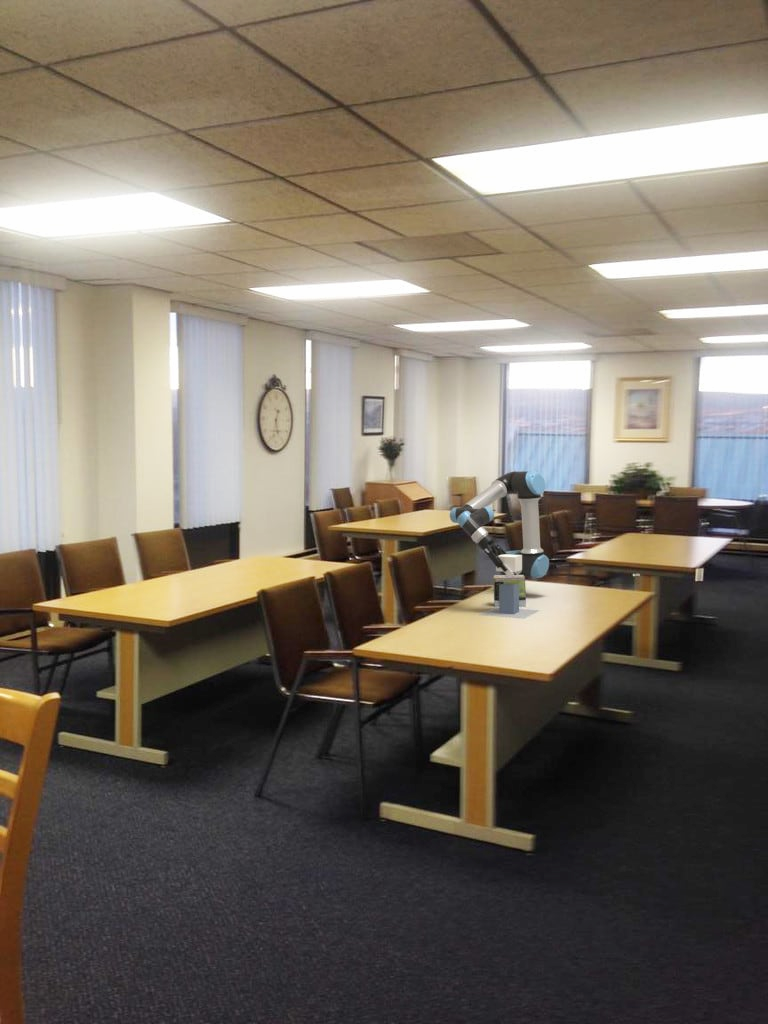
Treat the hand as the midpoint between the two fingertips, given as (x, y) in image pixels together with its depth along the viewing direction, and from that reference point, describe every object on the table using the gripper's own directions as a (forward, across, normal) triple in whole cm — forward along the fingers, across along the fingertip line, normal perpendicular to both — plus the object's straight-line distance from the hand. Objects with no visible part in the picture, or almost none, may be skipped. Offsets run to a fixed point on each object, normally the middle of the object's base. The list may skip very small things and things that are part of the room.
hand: (515, 574), depth 392 cm
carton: (+10, 0, -15) cm, 18 cm away
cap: (-3, 0, -1) cm, 4 cm away
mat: (+11, 0, -15) cm, 19 cm away
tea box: (+6, -19, -20) cm, 28 cm away
